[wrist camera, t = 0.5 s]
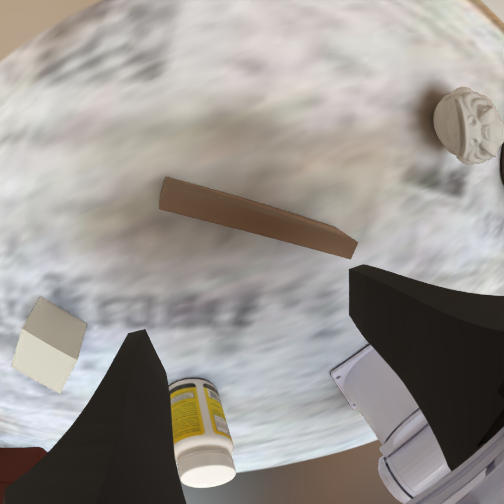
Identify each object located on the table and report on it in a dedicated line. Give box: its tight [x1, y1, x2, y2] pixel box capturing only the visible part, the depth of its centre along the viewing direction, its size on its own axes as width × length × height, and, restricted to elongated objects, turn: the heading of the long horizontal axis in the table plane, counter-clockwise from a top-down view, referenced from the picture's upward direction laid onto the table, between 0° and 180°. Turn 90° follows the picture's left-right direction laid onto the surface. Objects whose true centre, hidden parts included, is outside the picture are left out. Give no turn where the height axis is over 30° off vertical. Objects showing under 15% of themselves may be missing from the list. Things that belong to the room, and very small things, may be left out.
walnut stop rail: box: [159, 177, 358, 259], centre depth 18 cm, size 1×12×3 cm, turn 70°
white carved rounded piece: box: [433, 87, 504, 165], centre depth 17 cm, size 6×7×7 cm
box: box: [0, 447, 48, 504], centre depth 20 cm, size 21×16×10 cm
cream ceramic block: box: [11, 296, 87, 393], centre depth 17 cm, size 4×4×4 cm
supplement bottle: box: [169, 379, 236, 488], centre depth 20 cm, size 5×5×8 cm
